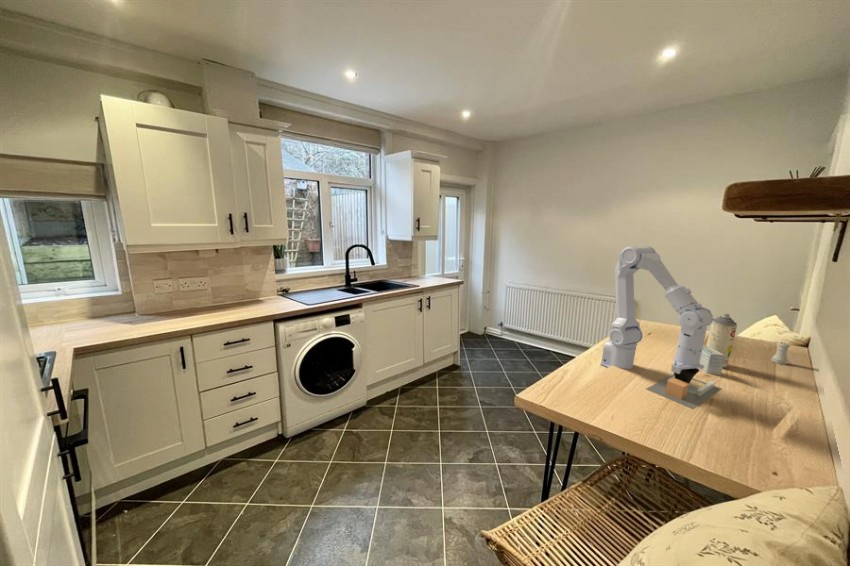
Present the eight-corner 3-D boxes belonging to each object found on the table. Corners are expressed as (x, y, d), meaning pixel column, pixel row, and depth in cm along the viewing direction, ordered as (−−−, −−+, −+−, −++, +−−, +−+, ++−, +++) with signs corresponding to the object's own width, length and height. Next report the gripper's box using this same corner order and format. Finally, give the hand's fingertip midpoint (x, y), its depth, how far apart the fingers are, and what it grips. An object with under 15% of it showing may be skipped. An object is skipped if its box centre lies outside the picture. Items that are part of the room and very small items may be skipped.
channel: (644, 393, 98) (646, 384, 98) (676, 376, 110) (677, 368, 109) (691, 413, 88) (694, 404, 88) (721, 392, 100) (723, 384, 99)
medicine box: (720, 378, 109) (726, 355, 107) (705, 377, 110) (710, 354, 108) (705, 368, 116) (710, 346, 115) (691, 367, 117) (696, 345, 115)
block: (665, 392, 96) (667, 380, 95) (671, 389, 98) (673, 377, 97) (680, 399, 93) (683, 387, 92) (686, 395, 95) (689, 383, 94)
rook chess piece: (775, 363, 122) (780, 344, 120) (768, 359, 126) (773, 340, 124) (790, 365, 120) (796, 346, 118) (783, 361, 124) (788, 342, 122)
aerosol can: (727, 370, 115) (740, 317, 111) (702, 364, 120) (714, 313, 115) (726, 364, 120) (738, 313, 116) (703, 358, 125) (713, 309, 121)
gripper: (696, 357, 87) (686, 402, 90) (715, 347, 95) (706, 388, 98) (666, 348, 93) (658, 390, 96) (687, 339, 101) (679, 378, 103)
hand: (680, 388), depth 97 cm, fingers closed
